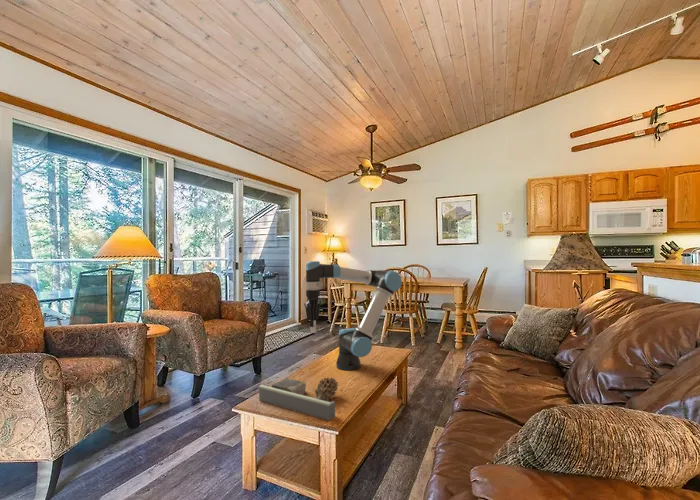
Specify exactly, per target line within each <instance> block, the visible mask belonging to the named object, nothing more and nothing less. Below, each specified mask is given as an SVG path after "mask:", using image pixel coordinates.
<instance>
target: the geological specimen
mask: <svg viewBox="0 0 700 500" xmlns="http://www.w3.org/2000/svg"><path fill="white" fill-rule="evenodd" d="M306 386H307V385H306V382H305V381H302V380H297V379H296V380H295V379H293V378H292V379H291V378H284V379H282V380H280V381H277V382H275V383H274V384H271V387H273V388H276V389H280V390H284V391H288V392H292V393H296V394H300V395H304V396H305V393H306V388H307V387H306Z"/></svg>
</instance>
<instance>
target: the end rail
mask: <svg viewBox="0 0 700 500" xmlns="http://www.w3.org/2000/svg"><path fill="white" fill-rule="evenodd" d="M258 391H259V392H258V396H259V397H258V400H259V402H263V403H267V404H271V405H274V406H277V407H280V408H284V409H287V410H288V409H289V410H291V411H295V412H299V413H302V414H304V415H305V414H306V415H308V416H312V417H315V418H319V419H322V420H326V421H331V420H333V418H334V417H335V416H336V402H335V401H334V400H330V401H328V402H327V401H323V400H319V399H316V398H317V397H311V396H307V395H305V394H304V395H300V394H296V393H292V392H288V391H284V390H280V389H276V388H273V387H272V386H269V384H267V383H266V384H261V385H259V386H258Z"/></svg>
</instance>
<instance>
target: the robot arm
mask: <svg viewBox="0 0 700 500" xmlns="http://www.w3.org/2000/svg"><path fill="white" fill-rule="evenodd" d="M321 279H336V280H344V281H350V282H354V283H355V282H356V283H357V282H358V283H363V284H365V285H367V286H371V287H374V288H375V292H374V295H373V297H372V299H371V301H370V303H369V305H368V307H367V309H366V311H365V313H364V315H363V317H362V320H361V321H360V323H359V326H358V327H354V328H353V327H349V328H342V329H339V330H338V356H337V360H336V363H335V367H336V368H337V369H339V370H342V371H354V370H358V369H360V368H361V367H362V363H361V359H360V358H364V357H365V356H368V355H369V354H370V353H371V351H372V348H373V344H372V341H373V338H374V336H373V333H374V330H375V327H376V326H377V323H378V321H379V319H380V317H381V315H382V314H383V310H384V309H385V307H386V305H387V302H388V300H389V298H391V297H393V296H394V293H395V292H396V291H399V290H400V288H401V286H402V284H403V283H402V281H403V280H402V277H401V275H400V274H399V273H398V272H397V271H393V270H384V269H381V270H373V269H367V270H363V269H362V270H361V269H355V268H350V267H349V268H348V267H342V266H340V265H339V264H335V263H334V264H328V263H327V264H324V263H320V261H319V260H318V261H316V260H315V261H309V260H307V262H306V263H305V289H306V291H305V296H306V298H307V299H306V302H305V303H303V305H304V307H305V312H306V314H305V315H306V319H307V321H309V327H310V328H309V330H310V331H309V333H312V334H315V333H317V321H318V320H319V318H320V311H321V310H320V309H321V304H322V300H319V299H320V298H319V297H320V296H321V290H320V287H321V285H320V284H321V283H320V282H321Z"/></svg>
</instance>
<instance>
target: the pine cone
mask: <svg viewBox="0 0 700 500" xmlns="http://www.w3.org/2000/svg"><path fill="white" fill-rule="evenodd" d="M338 383H339V382H338V381H337V380H336V379H335V377H323V379H321V380H319V383H318V384H317V386H316V388H315V389H314V393H315V398H316V399H319V400H323V401H327V402H330V400H332V399H333V396H335V395H336V394H337V390H338V386H339V384H338Z"/></svg>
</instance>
